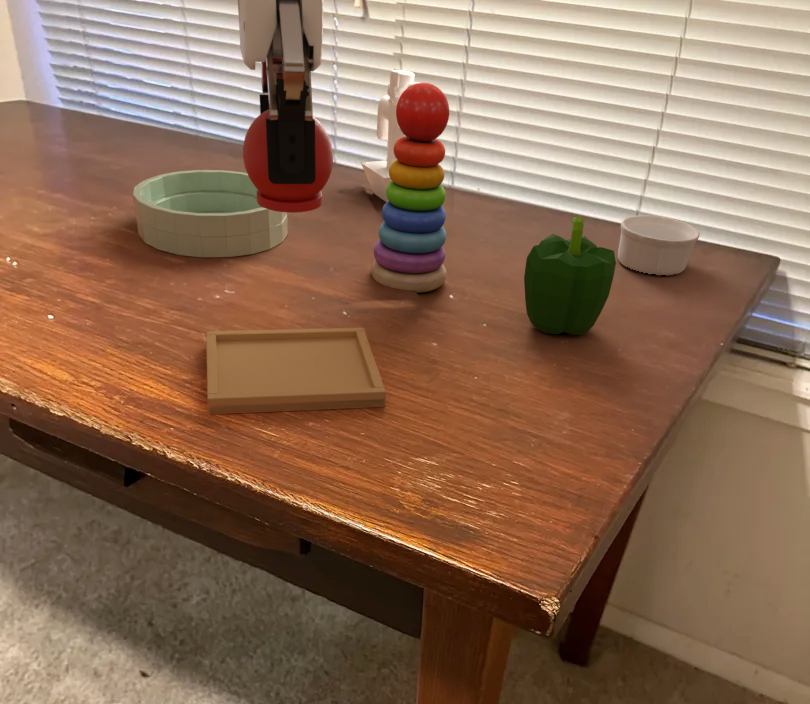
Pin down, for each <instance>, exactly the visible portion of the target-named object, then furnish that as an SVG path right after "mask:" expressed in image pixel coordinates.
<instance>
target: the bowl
mask: <svg viewBox="0 0 810 704" xmlns="http://www.w3.org/2000/svg"><path fill="white" fill-rule="evenodd" d="M257 190H258V189H257V188H256V187H255V186H254V184H253V183H252V182H251V180H250V178H249V176H248V174H247V172H244V171H234V170H224V169H193V170H191V169H190V170H180V171H173V172H166V173H163V174H158V175H155V176H152V177H149V178H146V179H144V180H142V181H140V182H138V184H136V185H135V186H134V187H133V191H132V199H133V206H134V213H135V220H136V226H137V227H136V229H137V232H138V233H137V234H138V236H139V237H140V239H141V240H142V242H143V243H144V244H146V245H148V246H151V247H152V248H154V249H156V250H158V251H162V252H165V253H170V254H174V255H178V256H185V257H194V258H232V257H233V258H234V257H241V256H249V255H254V254H259V253H262V252H266V251H268V250H271V249H273V248H275V247H276V246H279V245H280V244H282V243H283V242H284V241H285V239H286V238H287V237H288V235H289V231H288V230H289V227H288V225H289V224H288V223H289V222H288V212H278V211H273V210H269V209H266V208H263V207H261V206H260V205H259V204H258V203H257V194H256V193H257Z"/></svg>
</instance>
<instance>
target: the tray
mask: <svg viewBox="0 0 810 704" xmlns="http://www.w3.org/2000/svg"><path fill="white" fill-rule="evenodd" d="M205 334H206V391H207V393H206V397H207V398H206V399H207V409H208V415H225V414H226V415H228V414H251V413H252V414H253V413H269V412H270V413H273V412H295V411H296V412H297V411H316V410H317V411H319V410H321V411H323V410H340V409H341V410H342V409H343V410H344V409H363V408H364V409H367V408H385V407H386V403H387V402H386V401H387V399H386V398H387V391H386V387H385V385H384V383H383V380H382V376H381V374H380V371H379V368H378V365H377V362H376V360H375V357H374V354H373V351H372V348H371V345H370V343H369V340H368V337H367V334H366V331H365V328H364V327H328V328H327V327H326V328H325V327H324V328H323V327H322V328H293V329H292V328H286V329H285V328H282V329H280V328H279V329H243V330H207V331H206V333H205Z"/></svg>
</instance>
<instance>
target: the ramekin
mask: <svg viewBox="0 0 810 704" xmlns="http://www.w3.org/2000/svg"><path fill="white" fill-rule="evenodd" d="M700 235H701V234H700V231H699V230H698V229H697V228H695V226H693V225H691V224H689V223H687V222H684V221H681V220H679V219H676V218H675V219H674V218H670V217H665V216H658V215H647V214H646V215H645V214H641V215H638V214H637V215H631V216H627V217H625V218H623V219H622V220H621V222H620V237H619V244H618V250H617V259H618V262H619V263H620V264H621V265H623V266H624V267H625V268H627V267H628V269H629V268H630V270H632V269H633V270H632V271H634V270H636V271H635V272H637V271H639V272H638V273H641V272H643V273H642V274H645V273H648V274H647V275H651V274H656V275H655V276H661V275H666V276H675V275H678V274H680V273H682V272H683V271H685V270H686V268H687V266H688V264H689V261H690V258H691V255H692V253H693V251H694V248H695V245H696V243H697V242H698V240H699V238H700ZM674 274H675V275H674Z"/></svg>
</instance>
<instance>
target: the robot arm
mask: <svg viewBox="0 0 810 704" xmlns="http://www.w3.org/2000/svg"><path fill="white" fill-rule="evenodd" d="M237 13H238V28H239V31H238V32H239V47H240V53H241V57H242V61H243V63H244V65H245V66H246V67H247V68H248V69H249V70H251V71H256V63H260V71H261V72H260V73H261V76H260V77H261V92H262V94H261V93H260V94H259V113H260V114H262V113H263V112H265V111H266V110H269V113H270V118H266V138H267V160H268V177H269V180H270V182H271V183H273V184H312V183H314V182H315V179H316V166H315V119H313V116H314V114H313V113H314V111H313V90H312V72H315V71H316V70H317V69H318V68H319V67H320V66H321V65H322V59H323V40H324V39H323V35H324V34H323V33H324V0H237ZM260 114H259V115H260Z"/></svg>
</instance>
